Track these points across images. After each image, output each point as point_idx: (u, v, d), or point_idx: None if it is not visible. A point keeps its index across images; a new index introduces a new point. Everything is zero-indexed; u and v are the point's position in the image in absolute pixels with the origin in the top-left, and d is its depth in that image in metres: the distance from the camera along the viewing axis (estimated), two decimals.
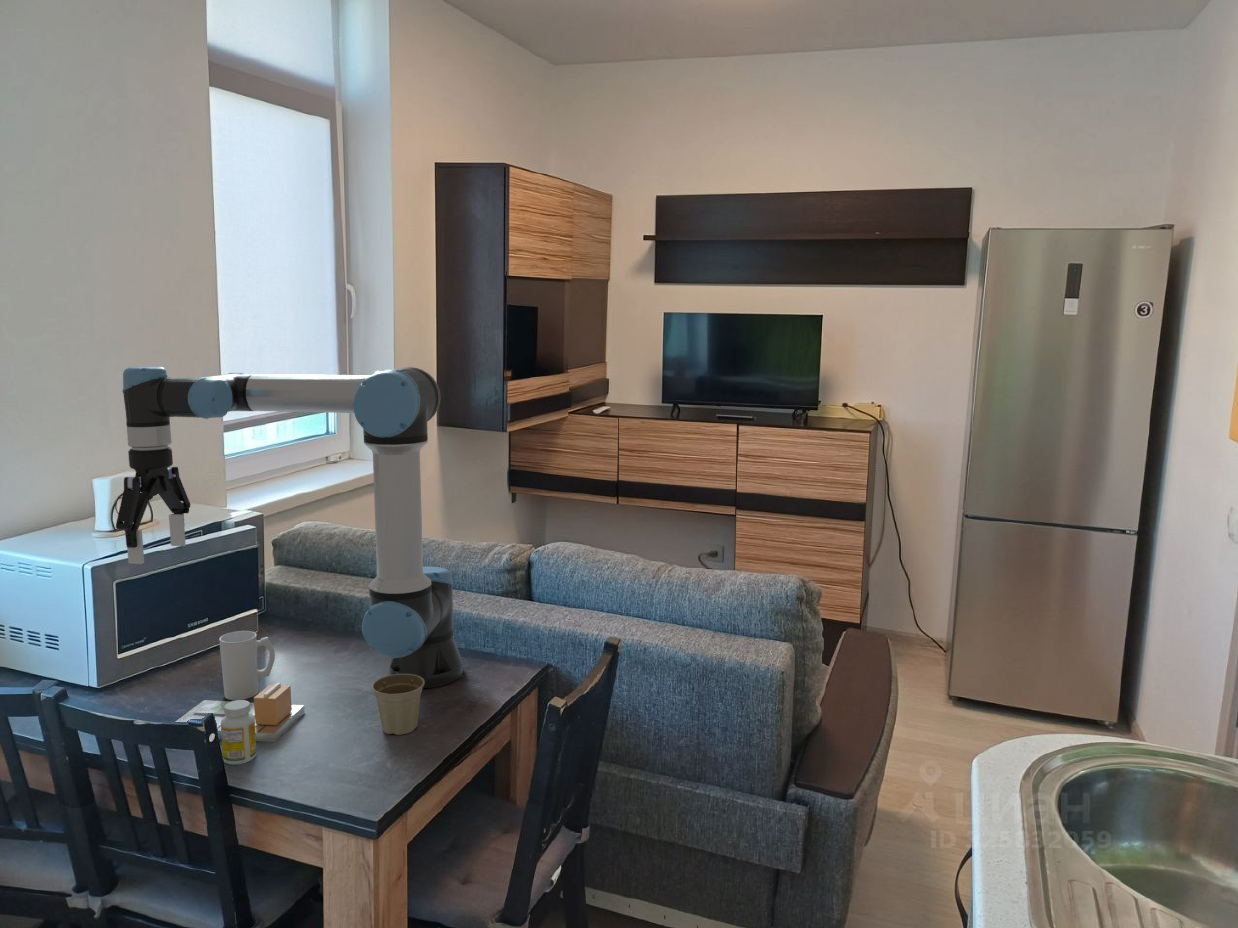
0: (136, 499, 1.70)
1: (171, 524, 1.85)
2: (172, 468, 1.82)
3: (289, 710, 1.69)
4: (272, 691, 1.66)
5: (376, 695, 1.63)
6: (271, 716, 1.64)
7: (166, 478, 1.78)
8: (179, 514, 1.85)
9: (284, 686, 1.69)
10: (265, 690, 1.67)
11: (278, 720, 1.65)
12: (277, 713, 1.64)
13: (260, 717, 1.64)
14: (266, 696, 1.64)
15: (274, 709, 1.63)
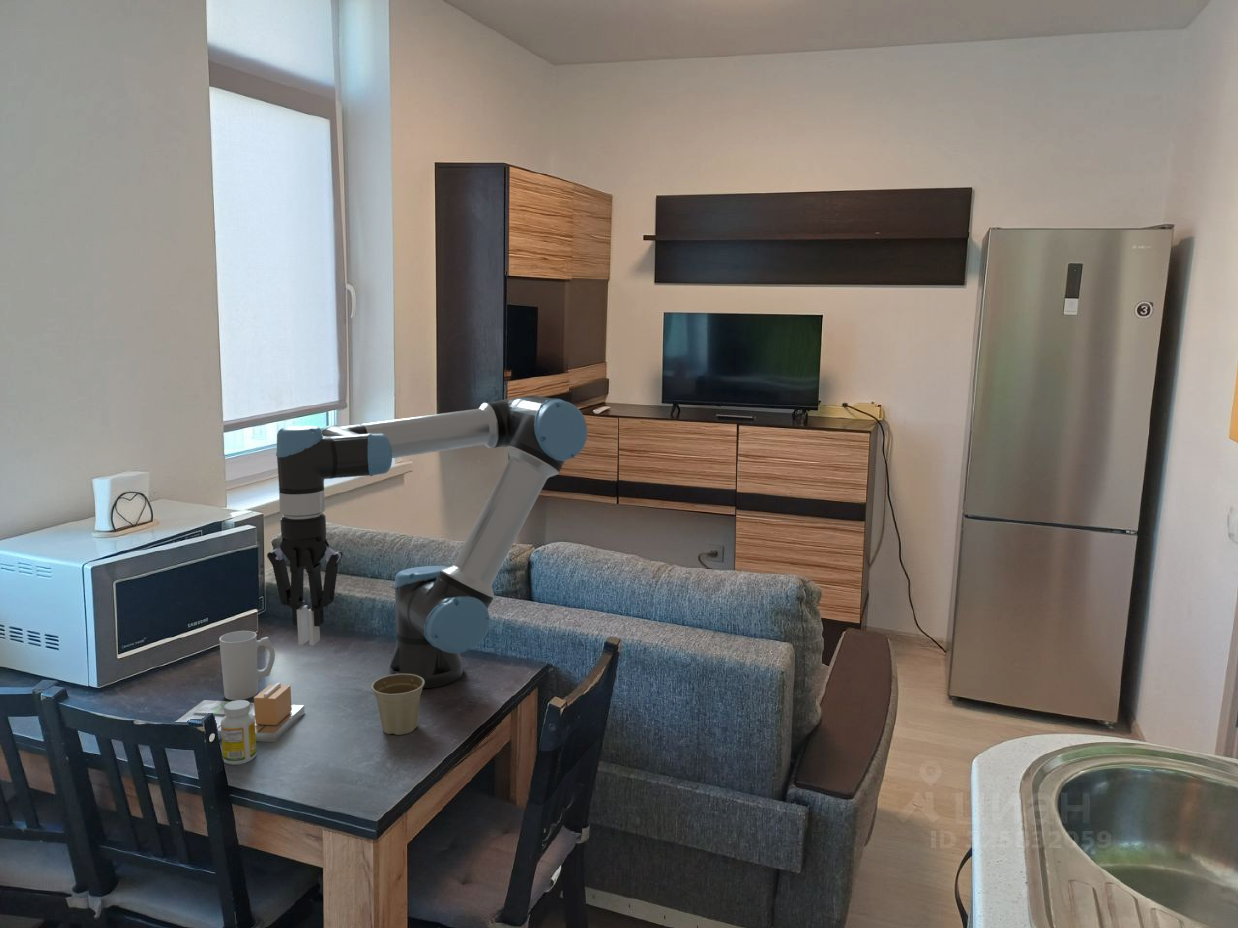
0: (278, 573, 1.61)
1: None
2: (333, 553, 1.60)
3: (289, 710, 1.69)
4: (272, 691, 1.66)
5: (376, 695, 1.63)
6: (271, 716, 1.64)
7: (307, 553, 1.59)
8: (311, 609, 1.62)
9: (284, 686, 1.69)
10: (265, 690, 1.67)
11: (278, 720, 1.65)
12: (277, 713, 1.64)
13: (260, 717, 1.64)
14: (266, 696, 1.64)
15: (274, 709, 1.63)
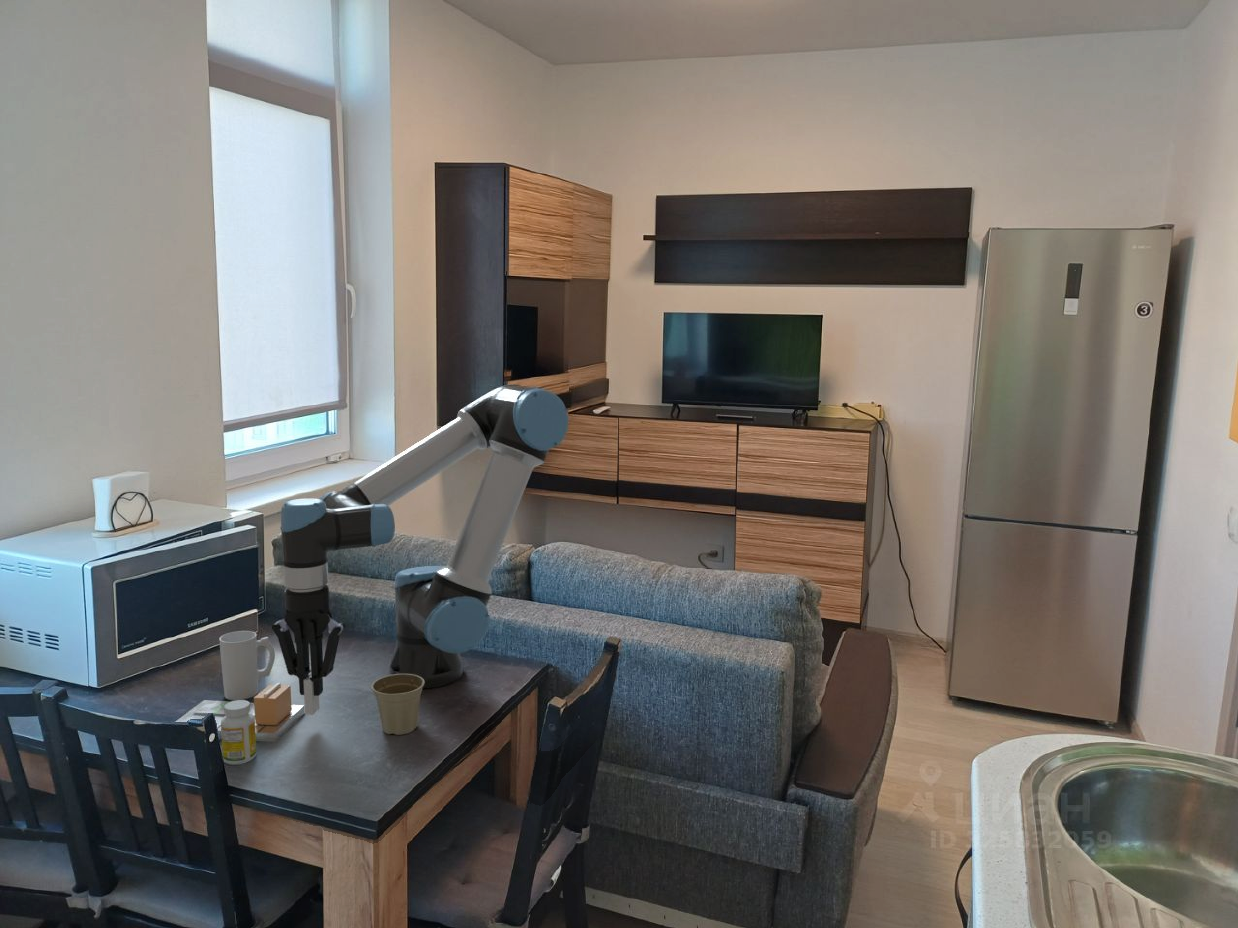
0: (284, 644, 1.63)
1: None
2: (336, 626, 1.62)
3: (289, 710, 1.69)
4: (272, 691, 1.66)
5: (376, 695, 1.63)
6: (271, 716, 1.64)
7: (311, 625, 1.61)
8: None
9: (284, 686, 1.69)
10: (265, 690, 1.67)
11: (278, 720, 1.65)
12: (277, 713, 1.64)
13: (260, 717, 1.64)
14: (266, 696, 1.64)
15: (274, 709, 1.63)
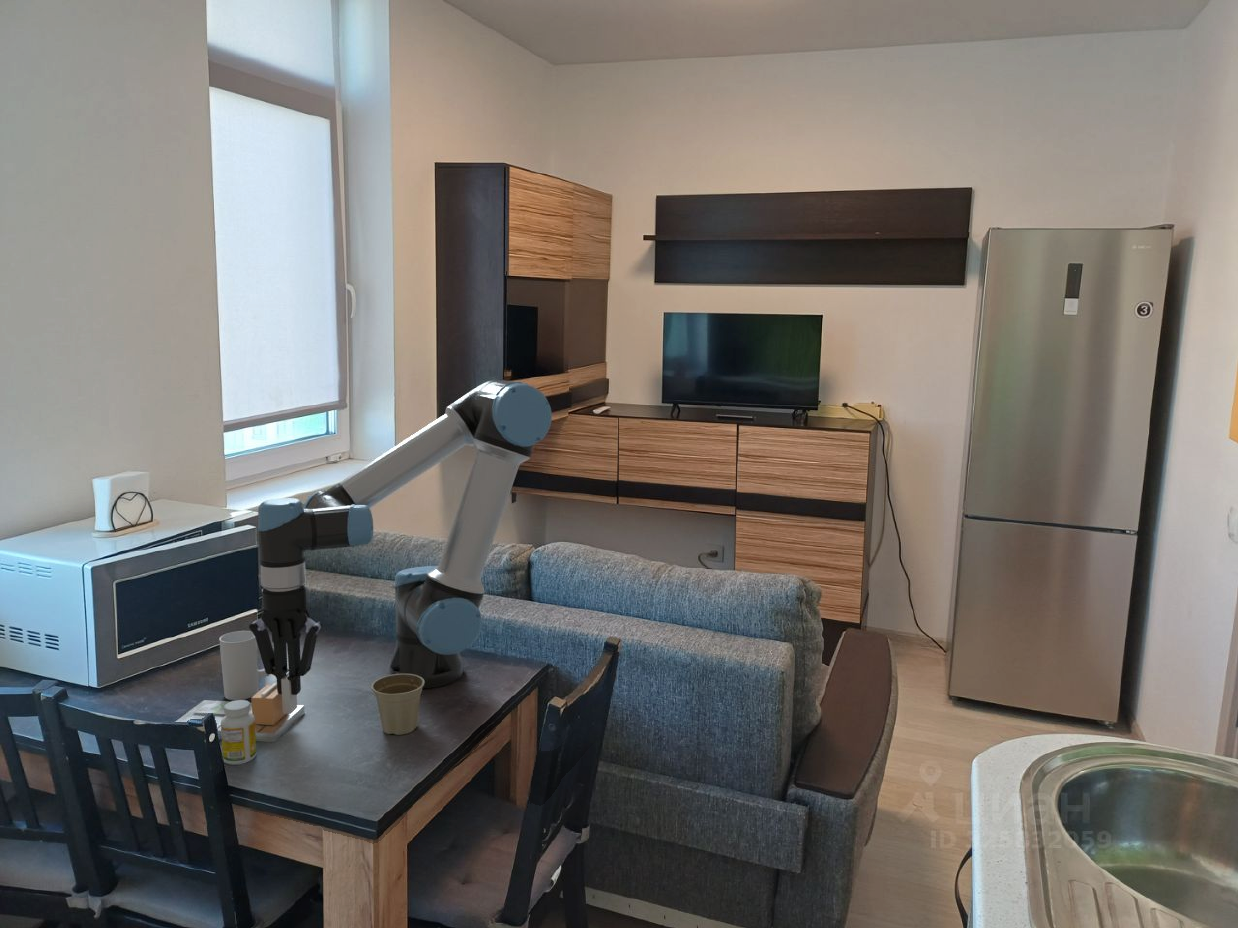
0: (261, 644, 1.64)
1: None
2: (314, 625, 1.63)
3: None
4: (270, 691, 1.66)
5: (376, 695, 1.63)
6: (268, 716, 1.64)
7: (288, 624, 1.62)
8: None
9: None
10: (263, 690, 1.67)
11: (276, 720, 1.65)
12: (274, 713, 1.64)
13: (257, 717, 1.64)
14: (264, 696, 1.64)
15: (272, 709, 1.64)
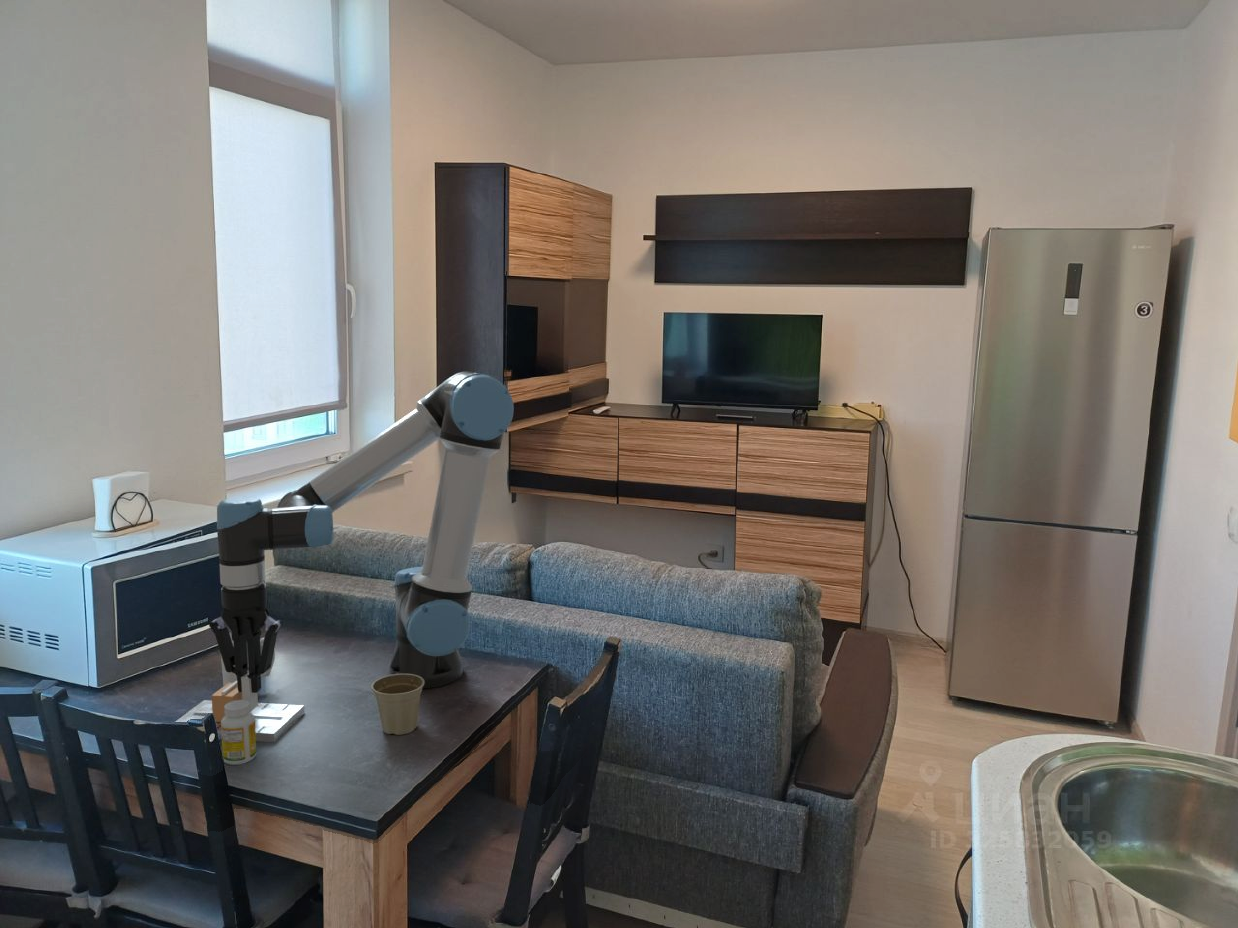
0: (221, 642, 1.64)
1: None
2: (273, 623, 1.63)
3: None
4: (230, 689, 1.66)
5: (376, 695, 1.63)
6: None
7: (248, 622, 1.62)
8: None
9: None
10: (223, 688, 1.68)
11: None
12: None
13: (217, 715, 1.65)
14: (224, 694, 1.65)
15: None
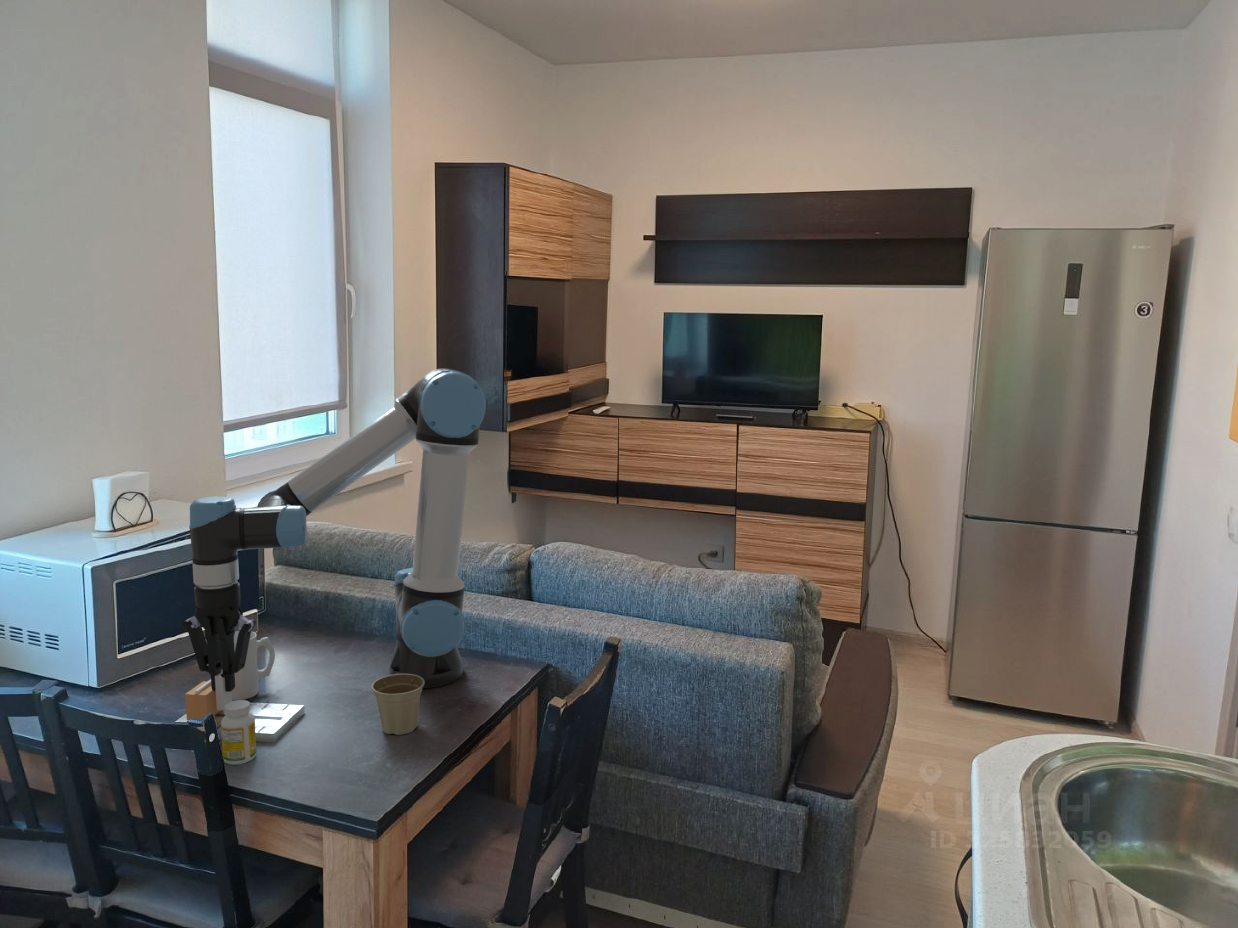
0: (195, 641, 1.65)
1: None
2: (246, 622, 1.64)
3: None
4: (204, 688, 1.67)
5: (376, 695, 1.63)
6: (202, 712, 1.65)
7: (221, 621, 1.63)
8: None
9: None
10: (197, 687, 1.68)
11: None
12: (208, 709, 1.65)
13: (191, 714, 1.65)
14: (197, 692, 1.65)
15: (205, 705, 1.65)
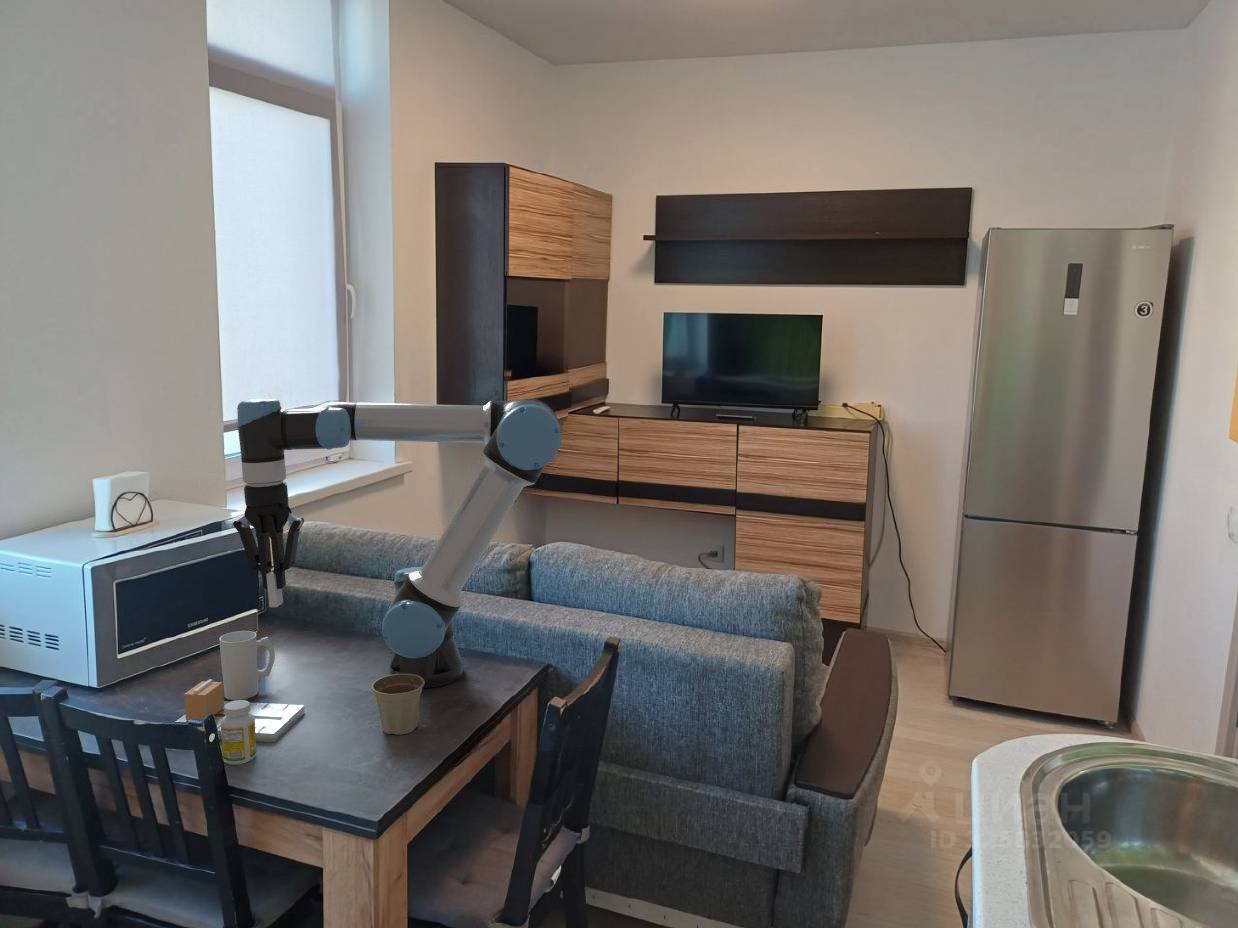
0: (246, 540, 1.70)
1: None
2: (296, 519, 1.69)
3: (221, 706, 1.70)
4: (203, 688, 1.67)
5: (376, 695, 1.63)
6: (201, 712, 1.65)
7: (271, 519, 1.68)
8: None
9: (216, 682, 1.70)
10: (196, 687, 1.68)
11: None
12: (207, 709, 1.65)
13: (190, 714, 1.65)
14: (196, 692, 1.65)
15: (204, 705, 1.65)
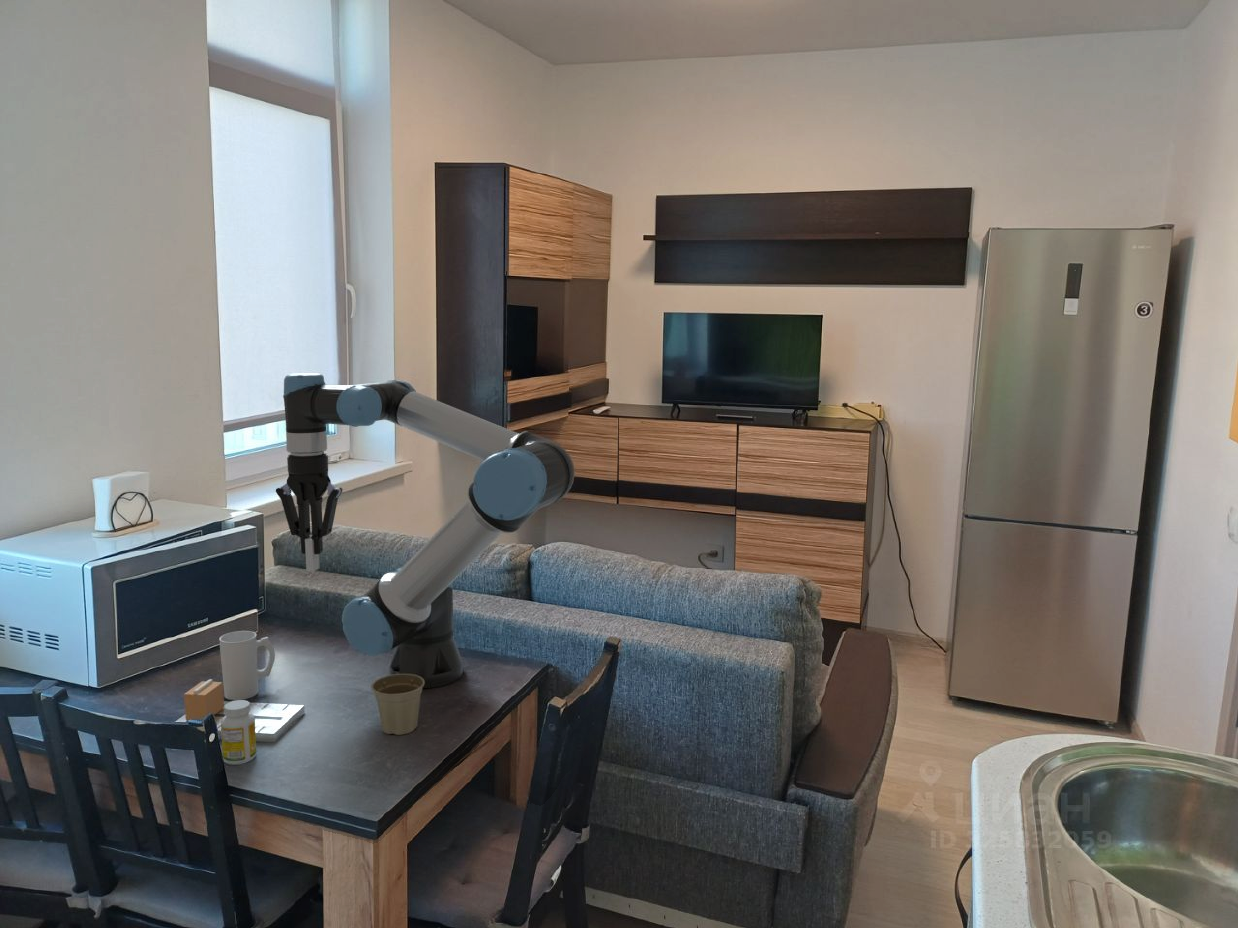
0: (287, 506, 1.79)
1: None
2: (334, 489, 1.78)
3: (221, 706, 1.70)
4: (203, 688, 1.67)
5: (376, 695, 1.63)
6: (201, 712, 1.65)
7: (311, 487, 1.77)
8: None
9: (216, 682, 1.70)
10: (196, 687, 1.68)
11: None
12: (207, 709, 1.65)
13: (190, 714, 1.65)
14: (196, 692, 1.65)
15: (204, 705, 1.65)
